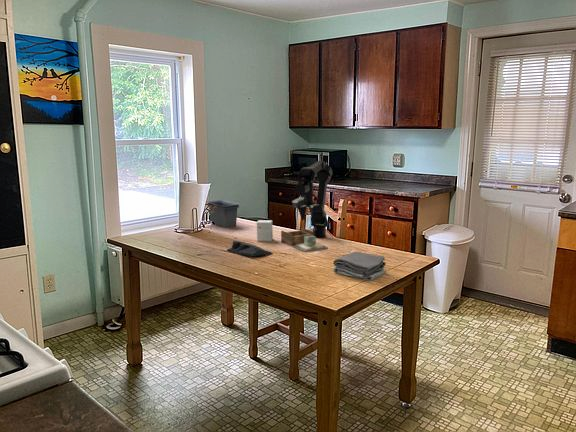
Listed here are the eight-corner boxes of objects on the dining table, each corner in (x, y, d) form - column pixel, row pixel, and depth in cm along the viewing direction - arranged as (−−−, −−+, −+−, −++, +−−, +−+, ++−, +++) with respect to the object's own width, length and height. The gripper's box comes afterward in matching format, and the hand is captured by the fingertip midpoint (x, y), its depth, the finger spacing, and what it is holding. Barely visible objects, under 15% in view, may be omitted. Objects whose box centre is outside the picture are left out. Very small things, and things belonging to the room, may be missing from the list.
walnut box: (301, 238, 254) (302, 227, 253) (313, 243, 245) (313, 231, 244) (281, 241, 248) (281, 230, 247) (291, 246, 239) (291, 234, 237)
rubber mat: (314, 243, 245) (314, 242, 244) (327, 248, 234) (327, 247, 234) (292, 246, 238) (292, 245, 237) (304, 252, 227) (304, 251, 227)
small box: (272, 238, 255) (272, 220, 253) (271, 241, 249) (271, 222, 247) (258, 238, 255) (258, 220, 253) (256, 241, 250) (256, 222, 248)
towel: (351, 265, 206) (351, 248, 205) (388, 274, 195) (389, 256, 193) (332, 273, 195) (332, 256, 194) (370, 283, 184) (370, 264, 182)
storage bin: (242, 225, 288) (242, 203, 285) (222, 229, 278) (221, 206, 275) (222, 221, 303) (221, 199, 300) (202, 224, 293) (201, 202, 290)
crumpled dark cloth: (249, 260, 215) (249, 250, 214) (224, 250, 232) (224, 241, 231) (275, 255, 225) (275, 245, 224) (249, 246, 241) (249, 237, 241)
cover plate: (313, 243, 243) (313, 233, 242) (324, 247, 234) (324, 237, 233) (295, 245, 237) (295, 235, 236) (305, 250, 229) (306, 239, 228)
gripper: (284, 191, 242) (285, 220, 245) (304, 196, 226) (304, 227, 230) (302, 189, 247) (302, 217, 251) (323, 194, 232) (322, 224, 235)
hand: (307, 221), depth 241 cm, fingers open, 9 cm apart
